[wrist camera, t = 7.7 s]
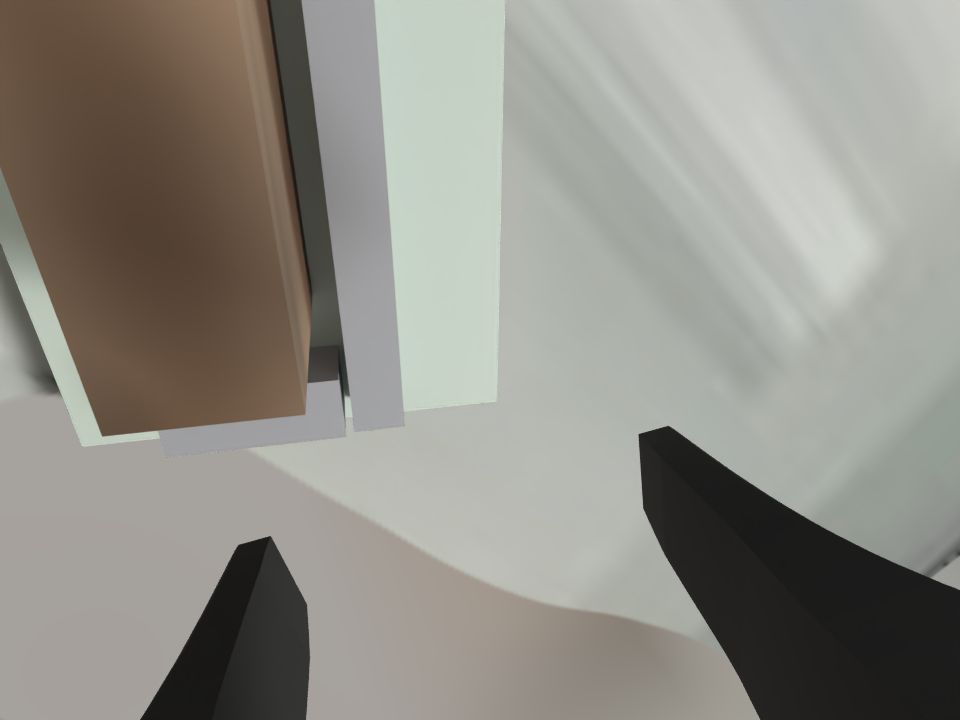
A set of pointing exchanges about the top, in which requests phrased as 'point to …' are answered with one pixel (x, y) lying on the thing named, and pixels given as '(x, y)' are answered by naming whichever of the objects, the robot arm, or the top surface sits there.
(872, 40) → the top surface
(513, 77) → the top surface
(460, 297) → the board
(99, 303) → the brown rectangular box
